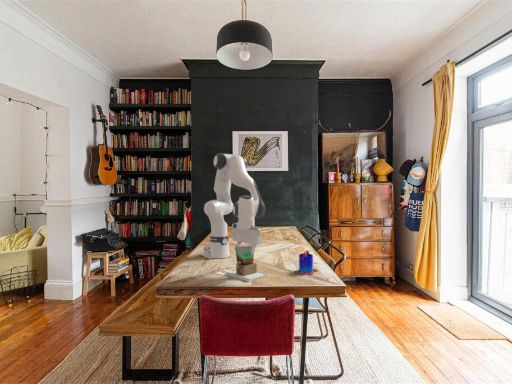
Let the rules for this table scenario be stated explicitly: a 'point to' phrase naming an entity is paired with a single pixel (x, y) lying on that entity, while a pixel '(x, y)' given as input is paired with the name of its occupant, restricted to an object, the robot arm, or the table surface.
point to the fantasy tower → (306, 264)
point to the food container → (244, 255)
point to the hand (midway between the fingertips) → (246, 251)
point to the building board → (248, 277)
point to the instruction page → (223, 272)
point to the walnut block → (246, 269)
